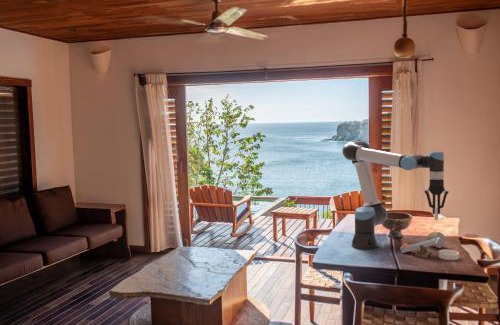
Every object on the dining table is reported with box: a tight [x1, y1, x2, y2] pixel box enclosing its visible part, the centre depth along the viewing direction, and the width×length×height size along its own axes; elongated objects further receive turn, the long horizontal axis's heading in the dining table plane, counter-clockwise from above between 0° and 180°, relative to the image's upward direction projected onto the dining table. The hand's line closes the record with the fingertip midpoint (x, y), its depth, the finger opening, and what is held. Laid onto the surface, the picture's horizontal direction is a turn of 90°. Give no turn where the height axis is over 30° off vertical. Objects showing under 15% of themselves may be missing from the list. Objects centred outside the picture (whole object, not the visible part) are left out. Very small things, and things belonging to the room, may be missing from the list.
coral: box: [426, 231, 446, 249], centre depth 276 cm, size 10×10×10 cm
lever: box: [399, 237, 440, 254], centre depth 265 cm, size 20×15×3 cm
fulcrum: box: [415, 240, 431, 259], centre depth 261 cm, size 6×12×6 cm, turn 150°
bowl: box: [437, 249, 460, 261], centre depth 255 cm, size 10×10×3 cm
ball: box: [401, 242, 410, 249], centre depth 266 cm, size 4×4×4 cm
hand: (436, 219), depth 263 cm, fingers closed
